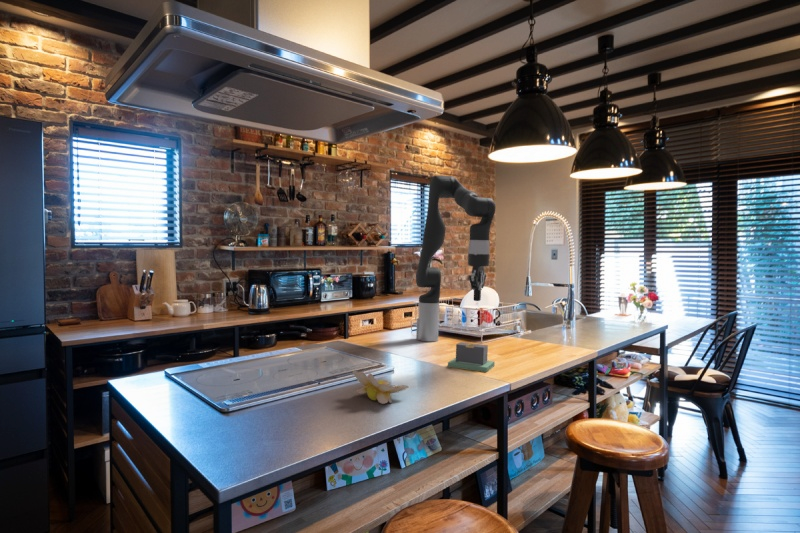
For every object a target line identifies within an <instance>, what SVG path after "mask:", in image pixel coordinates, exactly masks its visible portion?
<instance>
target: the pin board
mask: <svg viewBox="0 0 800 533" xmlns="http://www.w3.org/2000/svg"><path fill="white" fill-rule="evenodd" d="M447 367H449V368H456V369H463V370H470V371H475V372H476V371H477V372H485V373H488V372H489V371H490V370H491V369H492V368H493V367H495V361H493V360H487V363H485V364H484V365H480V364H473V363H465V362H458V361H456V357H455V358H453V359H451V360H449V361H447Z"/></svg>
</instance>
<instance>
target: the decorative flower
mask: <svg viewBox="0 0 800 533" xmlns="http://www.w3.org/2000/svg"><path fill="white" fill-rule="evenodd" d="M352 374H353V375H354V377H355V378H356V380H357V381H358V382H359V383H360V384H361V385H363V386H362V387H361V388H358V389H357V390H356V391H355V392H356V393H360V394H366V395H367V397H368V398H369V399H370V400H371V401H377V402H378V403H380V404H387V403H388V402H389V403H390V404H392V397H391V394H396V393H399V392H402V391H404V390H406V389H408V388H410V386H409V385H407V384H406V385H405V384H401V385H393V384H392V385H390V384H391V381H389V380H385V379H382V380H377V379H376V378H375V376H374V375H373V374H372V373H368V375H367V374H366V373H364V371H357V370H353V371H352Z"/></svg>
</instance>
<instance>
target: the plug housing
mask: <svg viewBox="0 0 800 533" xmlns="http://www.w3.org/2000/svg"><path fill="white" fill-rule="evenodd" d="M488 348H489V346H488V345H486V344H479V343H469V342H463V341H460V342H459V343H457V344H455V358H456V361H458V362H465V363H473V364H480V365H484V364H485V363H487V361H488V350H489V349H488Z"/></svg>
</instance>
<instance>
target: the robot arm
mask: <svg viewBox="0 0 800 533" xmlns="http://www.w3.org/2000/svg"><path fill="white" fill-rule="evenodd" d="M428 188H429V189H428V201H427V202H428V203H427V212H426V218H425V219H426V220H425V224H424V230H423V237H422V244H421V245H422V246H421V252H420V257H419V261H418V265H417V269H416V270H417V271H416V275H415V284H416V285H417V287H419V288H430V290H429V291H428V292H426V293H423V294H421V295H420V296H419V298H418V318H416V337H415V339H416V341H417V340H418V341H422V342H436V341H437V342H438V341H439V324H440V322H439V320H440V319H439V318H440V317H439V316H440V299H441V298H440V297H441V283H442V272H441V269H440V268H439V267H432V266H431V267H429V264H430V261H431V260H432V258H433V257H434V255H436V254H437V252H438V251H439V250H440V249H441V248H442V246H443V244H444V242H445V237H446V230H447V228H446V224H445V221H444V219H443V218H442V214H441V213H440V212H441V211H440V209H439V202H440V199H454V202H455V203H456V204H457V205H458V206H459V207H460V208H462V209H463V210H464V211H465V213H466V214H467V215H468V216H470V217H473V218H474V217H475V218H481V219H480V220H479V222H477V223H473V224H471V225H470V227H469V240H468V250H467V251H468V252H467V253H468V255H467V256H468V257H467V265H468V266H469V267H472V268H471V271H470V272H471V273H470V274H471V275H469V277H468V279H469V283H470V288H471V289H472V290H473V301H475V302H480V301H481V298H482V297H481V296H482V293H481V292H482V289H484V286H485V282H486V278H487V274H486V272H485V267H489V265H490V230H491V227H492V222H493V220H494V216H495V212H496V203H495V201H494V200H493V198H490V197H483V196H482V197H481V196H480V197H479V195H478V194H477V193H475V192H473V191H471V190H470V189H468V188H466V187H465V186H464V185H463V184H462V183H461V182H460V181H459V180H458V179H456V177H454V176H451V175H450V176H449V175H433V176H432V178H431V179H430V182H429V187H428Z"/></svg>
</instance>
